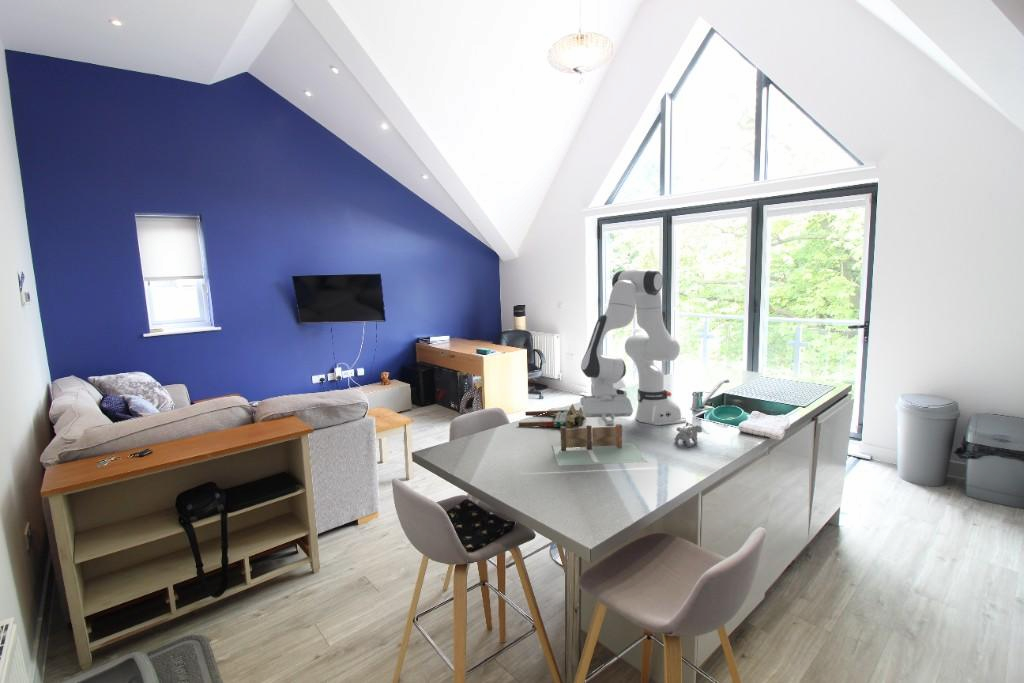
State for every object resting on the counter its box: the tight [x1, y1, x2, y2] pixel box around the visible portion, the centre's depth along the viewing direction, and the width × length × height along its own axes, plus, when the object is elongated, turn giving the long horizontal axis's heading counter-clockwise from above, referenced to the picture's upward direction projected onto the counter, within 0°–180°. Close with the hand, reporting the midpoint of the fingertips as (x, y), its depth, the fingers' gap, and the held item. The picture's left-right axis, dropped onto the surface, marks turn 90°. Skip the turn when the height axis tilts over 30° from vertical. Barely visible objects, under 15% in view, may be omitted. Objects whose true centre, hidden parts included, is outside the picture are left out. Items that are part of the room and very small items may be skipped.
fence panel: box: [592, 423, 623, 448], centre depth 187 cm, size 11×2×9 cm, turn 92°
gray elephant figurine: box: [674, 421, 703, 448], centre depth 193 cm, size 9×12×8 cm
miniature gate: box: [518, 403, 587, 429], centre depth 226 cm, size 27×6×30 cm
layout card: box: [554, 442, 648, 467], centre depth 183 cm, size 32×20×1 cm, turn 92°
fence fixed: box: [560, 425, 593, 451], centre depth 187 cm, size 12×2×9 cm, turn 92°
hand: (609, 425), depth 193 cm, fingers closed
